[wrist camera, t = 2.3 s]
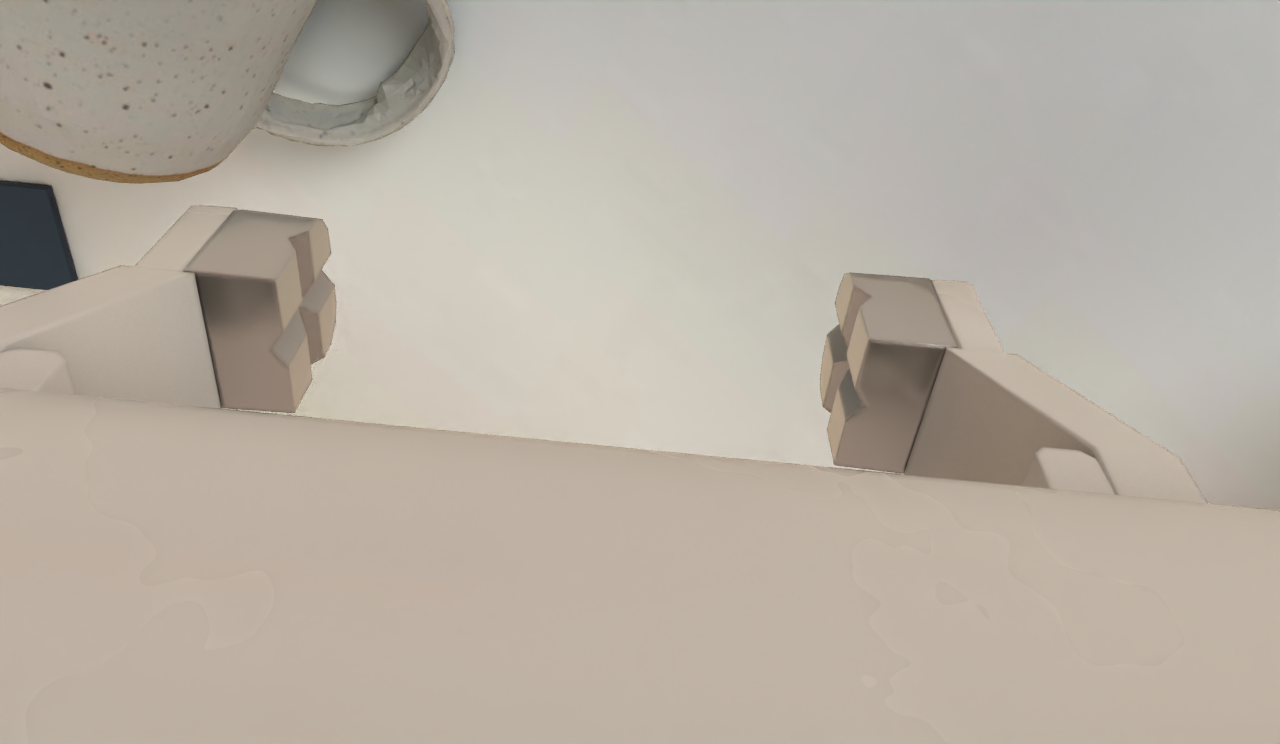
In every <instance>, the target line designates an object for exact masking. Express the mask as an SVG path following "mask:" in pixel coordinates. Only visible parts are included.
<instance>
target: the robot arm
mask: <svg viewBox="0 0 1280 744" xmlns="http://www.w3.org/2000/svg"><path fill="white" fill-rule="evenodd" d="M330 255H331V248H330V240H329V233H328V228H327V226H326V225H325V223H324V221H323V219H317V218H309V217H300V216H292V215H284V214H275V213H267V212H258V211H250V210H239V209H237V208H230V207H216V206H202V205H194V206H191V207H190V208H189V209H188V210H187V211H186V212H185V213H184V214H183V215H182V216H181V217H180V218H179V219H178V220H177V221H176V222H175V224H174V225H173V226H172V227H171V228H170V229H169V230H168V231H167V232H166V233H165V234H164V235H163V236H162V237H161V239H160V240H159V241H158V242H157V243H156V244H155V245H154V246H153V247H152V248H151V249H150V250H149V251H148V252H147V253H146V255H145V256H144V257H143V258H142V259H141V260H140V261H139V262H138V263H137V264H136V265H135V266H134V267H133V266H122V265H121V266H118V267H115V268H112V269H109V270H106V271H103V272H100V273H97V274H94V275H91V276H88V277H85V278H82V279H79V280H76V281H73V282H70V283H67V284H64V285H62V286H59V287H56V288H53V289H50V290H47V291H44V292H41V293H38V294H35V295H32V296H29V297H26V298H23V299H20V300H17V301H14V302H11V303H8V304H5V305H2V306H0V744H1280V511H1279V510H1269V509H1258V508H1248V507H1238V506H1227V505H1217V504H1208V502H1207V501H1206V499H1205V498H1204V496H1203V494H1202V493H1201V491H1200V490H1199V488H1198V486H1197V485H1196V483H1195V482H1194V480H1193V478H1192V477H1191V475H1190V474H1189V472H1188V470H1187V469H1186V467H1185V466H1184V464H1183V462H1182V461H1181V459H1180V458H1179V457H1177V456H1175V455H1174V454H1172V453H1171V452H1169V451H1168V450H1166V449H1164V448H1163V447H1161V446H1160V445H1158V444H1157V443H1155V442H1153V441H1152V440H1150V439H1149V438H1147V437H1146V436H1144V435H1142V434H1141V433H1139V432H1138V431H1136V430H1135V429H1133V428H1132V427H1130V426H1128V425H1127V424H1125V423H1124V422H1122V421H1121V420H1119V419H1117V418H1116V417H1114V416H1113V415H1111V414H1110V413H1108V412H1106V411H1105V410H1103V409H1102V408H1100V407H1099V406H1097V405H1095V404H1094V403H1092V402H1091V401H1089V400H1088V399H1086V398H1084V397H1083V396H1081V395H1080V394H1078V393H1077V392H1075V391H1074V390H1072V389H1070V388H1069V387H1067V386H1066V385H1064V384H1063V383H1061V382H1059V381H1058V380H1056V379H1055V378H1053V377H1052V376H1050V375H1048V374H1047V373H1045V372H1044V371H1042V370H1041V369H1039V368H1037V367H1036V366H1034V365H1033V364H1031V363H1030V362H1028V361H1027V360H1025V359H1023V358H1022V357H1020V356H1019V355H1017V354H1008V353H1005V352H1004V350H1003V348H1002V346H1001V344H1000V342H999V340H998V338H997V336H996V334H995V332H994V330H993V327H992V325H991V323H990V321H989V319H988V317H987V315H986V313H985V311H984V309H983V307H982V305H981V303H980V300H979V298H978V296H977V294H976V292H975V290H974V288H973V286H972V285H971V284H969V283H968V282H966V281H948V280H930V279H928V278H915V277H902V276H889V275H876V274H863V273H846V274H844V276H843V278H842V281H841V283H840V286H839V289H838V293H837V297H836V301H835V307H836V311H837V316H838V320H839V325H837V326H836V327H835V328H834V329H833V330H832V331H830V332H829V333H828V334H827V338H826V342H825V347H824V352H823V356H822V364H821V374H820V391H821V399H822V405H823V407H824V408H825V409H826V410H827V411H829V412H830V413H831V416H830V420H829V424H828V428H827V432H828V437H829V442H830V447H831V452H832V457H833V462H834V465H837V466H845V467H854V468H862V469H870V470H878V471H886V472H895V473H903V474H894V473H884V472H873V471H863V470H852V469H842V468H831V467H821V466H811V465H800V464H790V463H779V462H769V461H758V460H748V459H737V458H727V457H717V456H706V455H696V454H685V453H675V452H664V451H654V450H644V449H633V448H623V447H613V446H602V445H592V444H582V443H571V442H561V441H550V440H540V439H530V438H519V437H509V436H499V435H488V434H478V433H468V432H457V431H447V430H437V429H426V428H416V427H406V426H395V425H385V424H375V423H364V422H354V421H344V420H333V419H323V418H312V417H302V416H292V415H281V414H271V413H261V412H250V411H240V410H230V409H243V410H257V411H272V412H286V413H295V411H296V409H297V407H298V406H299V404H300V402H301V400H302V398H303V396H304V394H305V393H306V391H307V389H308V387H309V385H310V383H311V381H312V371H311V364H313V363H315V362H317V361H319V360H320V359H322V358H324V357H325V355H326V352H327V350H328V348H329V346H330V344H331V341H332V336H333V332H334V327H335V323H336V295H335V285H334V284H333V283H332V282H331V280H330V279H329V278H328V277H327V276H326V274H325V273H324V272H323V271H322V268H323V266H324V265H325V263H326V261H327V260H328V258H329V256H330ZM221 408H229V409H221Z"/></svg>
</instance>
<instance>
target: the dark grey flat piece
mask: <svg viewBox="0 0 1280 744" xmlns="http://www.w3.org/2000/svg"><path fill="white" fill-rule="evenodd" d="M76 280H78V279H77V276H76V272H75V269H74V265H73V262H72V258H71V255H70V251H69V248H68V244H67V240H66V237H65V233H64V230H63V226H62V223H61V219H60V216H59V212H58V209H57V205H56V202H55V198H54V195H53V191H52V188H51V186H47V185H37V184H27V183H18V182H8V181H0V285H3V286H13V287H23V288H33V289H43V290H50V289H53V288H56V287H59V286H62V285H64V284H67V283H70V282H73V281H76Z"/></svg>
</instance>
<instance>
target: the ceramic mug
mask: <svg viewBox="0 0 1280 744" xmlns="http://www.w3.org/2000/svg"><path fill="white" fill-rule="evenodd" d="M424 1H425V5H426V8H427V10H428V13H429V24H428V26H427V28H426V30H425V31H424V33H423V34H422V36H421V37H420V39H419V40H418V42H417V43H416V45H415V46H414V48H413V49H412V51H411V52H410V54H409V56H408V57H407V59H406V61H405V62H404V63H403V65H402V66H401V67H400V68H399V69H398V70H397V71H396V73H395V74H394V75H393V76H392V77H390V78H388V79H387V80H385V81H383V82H381V84H380V87H379V89H378V92H377V96H375V97H373V98H371V99H368V100H366V101H361V102H357V103H351V104H345V105H326V104H322V103H316V104H310V103H307V102H303V101H299V100H295V99H290V98H285V97H283V96H280V95H277V94H274V93H272V92H273V90H274V88H275V86H276V83H277V81H278V79H279V76H280V74H281V72H282V69H283V67H284V64H285V62H286V60H287V57H288V55H289V53H290V51H291V49H292V46H293V44H294V42H295V41H296V39H297V37H298V35H299V33H300V31H301V30H302V28H303V26H304V24H305V22H306V20H307V18H308V17H309V15H310V13H311V11H312V10H313V8H314V6H315V4H316V2H317V0H0V144H2V145H4V146H6V147H7V148H9V149H11V150H13V151H15V152H18V153H20V154H22V155H24V156H27V157H29V158H31V159H33V160H36V161H38V162H40V163H43V164H45V165H47V166H50V167H53V168H56V169H59V170H62V171H64V172H67V173H72V174H76V175H80V176H84V177H89V178H93V179H98V180H105V181H111V182H118V183H156V182H173V181H181V180H184V179H187V178H189V177H192V176H195V175H198V174H201V173H204V172H207V171H209V170H211V169H212V168H214V167H216V166H217V165H219V164H220V163H221V162H222V161H223V160H224V159H225V158H227V157H228V155H229V154H230V153H231V152H232V151H233V150H234V149H235V148H236V147H237V145H238V144H239V143H240V142H241V141H242V140H243V139H244V137H245V136H246V135H247V134H248V133H249V131H250V130H251V129H253V128H259V129H263V130H265V131H267V132H269V133H270V134H272V135H275V136H279V137H283V138H285V139H288V140H291V141H297V142H303V143H307V144H311V145H316V146H355V145H360V144H363V143H367V142H370V141H374V140H377V139H380V138H382V137H385V136H387V135H389V134H391V133H394V132H396V131H398V130H400V129H401V128H403V127H404V126H405V125H407V124H408V123H409V122H411V121H412V120H413V119H414V118H415V117H416V116H417V115H419V114H420V113H421V112H422V111H423V110H424V109H425V108H426V107H427V106H428V104H429V103H430V102H431V101H432V99H433V98H434V96H435V95H436V93H437V92H438V90H439V88H440V87H441V85H442V84H443V82H444V81H445V79H446V76H447V73H448V71H449V68H450V65H451V63H452V60H453V57H454V53H455V45H454V24H453V20H452V17H451V14H450V10H449V7H448V4H447V0H424Z"/></svg>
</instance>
